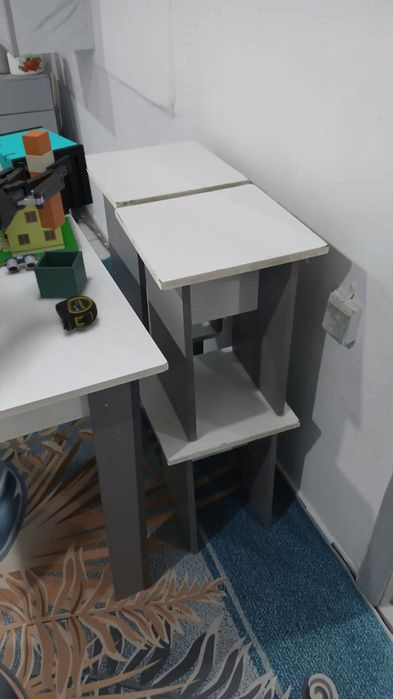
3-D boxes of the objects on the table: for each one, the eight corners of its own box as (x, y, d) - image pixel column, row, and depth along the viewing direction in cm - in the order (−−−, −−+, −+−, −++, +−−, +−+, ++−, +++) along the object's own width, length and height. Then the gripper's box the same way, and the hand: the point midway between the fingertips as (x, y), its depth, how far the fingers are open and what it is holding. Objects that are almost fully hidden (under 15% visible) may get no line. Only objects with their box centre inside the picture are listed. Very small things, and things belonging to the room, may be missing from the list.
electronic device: (-35, 202, 144) (-52, 144, 135) (52, 180, 155) (41, 125, 146) (-1, 232, 127) (-19, 168, 118) (94, 205, 138) (84, 144, 129)
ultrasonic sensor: (9, 275, 114) (6, 266, 111) (7, 266, 115) (4, 257, 111) (38, 269, 115) (35, 260, 112) (36, 260, 116) (33, 251, 113)
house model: (-7, 266, 114) (-24, 208, 107) (-9, 229, 130) (-24, 177, 122) (79, 251, 118) (69, 195, 111) (67, 217, 134) (57, 166, 126)
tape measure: (57, 316, 99) (52, 299, 97) (93, 307, 101) (90, 290, 99) (64, 336, 94) (60, 319, 92) (103, 326, 96) (100, 309, 94)
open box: (40, 298, 104) (33, 268, 100) (50, 279, 110) (44, 250, 106) (79, 298, 104) (73, 268, 100) (87, 279, 109) (81, 250, 105)
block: (41, 227, 97) (20, 135, 87) (51, 220, 100) (32, 129, 90) (56, 229, 96) (37, 136, 86) (66, 221, 99) (48, 130, 89)
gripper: (-61, 232, 83) (25, 179, 101) (30, 245, 79) (103, 187, 96) (-77, 184, 79) (15, 137, 96) (18, 195, 74) (97, 143, 92)
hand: (59, 162), depth 96 cm, fingers closed on block, 3 cm apart
